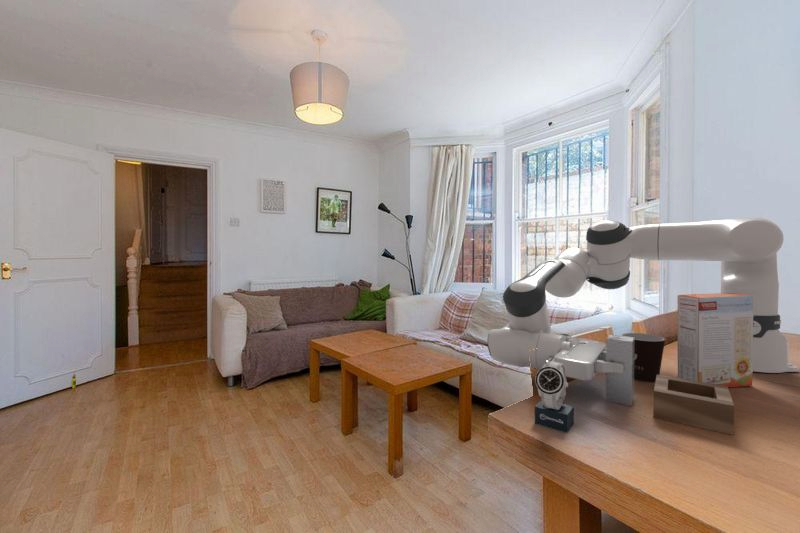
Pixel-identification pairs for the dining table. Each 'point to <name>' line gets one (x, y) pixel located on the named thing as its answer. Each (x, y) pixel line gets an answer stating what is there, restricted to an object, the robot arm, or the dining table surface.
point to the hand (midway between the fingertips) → (625, 364)
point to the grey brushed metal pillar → (623, 383)
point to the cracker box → (716, 338)
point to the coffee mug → (647, 356)
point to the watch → (553, 398)
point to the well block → (694, 403)
